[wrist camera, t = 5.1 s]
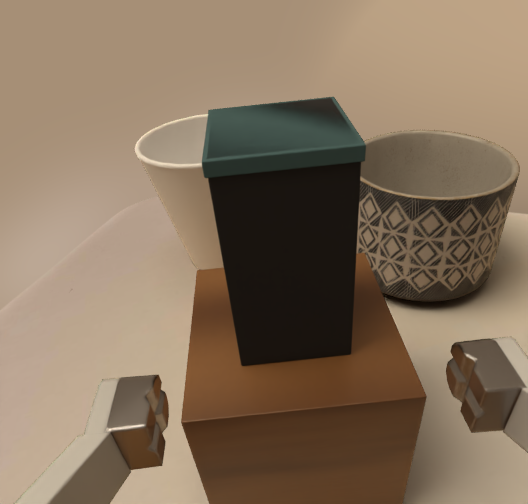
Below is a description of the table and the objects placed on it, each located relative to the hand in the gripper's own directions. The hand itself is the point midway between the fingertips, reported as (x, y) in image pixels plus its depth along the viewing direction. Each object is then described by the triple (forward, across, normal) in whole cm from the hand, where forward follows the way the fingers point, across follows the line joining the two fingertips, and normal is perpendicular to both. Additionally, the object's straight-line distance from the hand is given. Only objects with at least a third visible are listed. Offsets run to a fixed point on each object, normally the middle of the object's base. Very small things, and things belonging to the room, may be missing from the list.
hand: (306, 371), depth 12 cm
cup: (+28, +5, +16) cm, 33 cm away
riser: (+8, 0, +16) cm, 17 cm away
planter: (+23, -13, +16) cm, 31 cm away
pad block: (+8, 0, +6) cm, 9 cm away
